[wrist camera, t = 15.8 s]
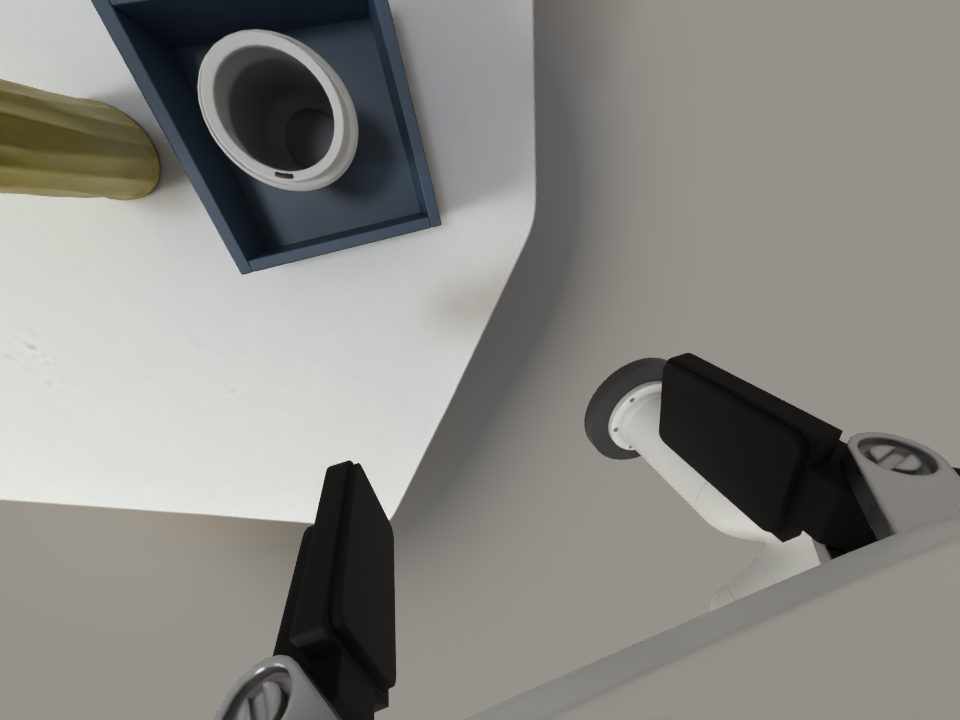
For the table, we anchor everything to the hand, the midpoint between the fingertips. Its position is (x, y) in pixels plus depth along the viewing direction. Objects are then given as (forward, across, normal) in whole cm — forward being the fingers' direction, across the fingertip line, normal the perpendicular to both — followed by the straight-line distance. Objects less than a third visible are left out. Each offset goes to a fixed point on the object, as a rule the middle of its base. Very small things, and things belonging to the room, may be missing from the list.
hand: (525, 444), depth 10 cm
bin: (+27, +6, -12) cm, 30 cm away
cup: (+26, +6, -12) cm, 29 cm away
